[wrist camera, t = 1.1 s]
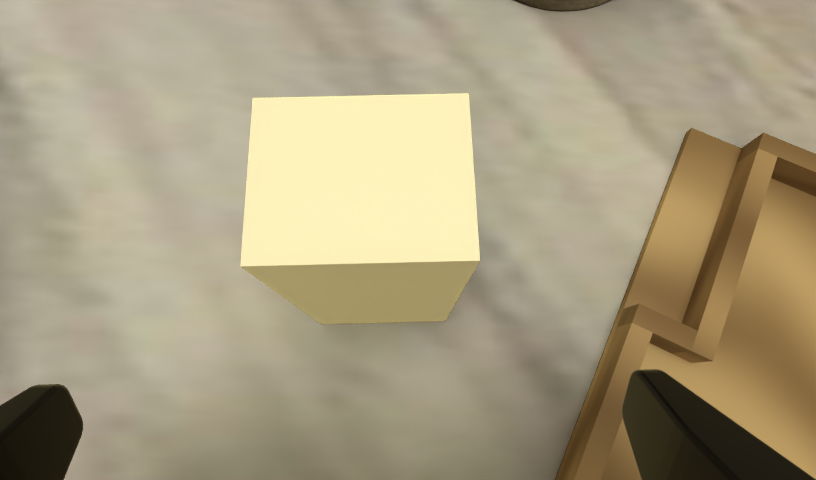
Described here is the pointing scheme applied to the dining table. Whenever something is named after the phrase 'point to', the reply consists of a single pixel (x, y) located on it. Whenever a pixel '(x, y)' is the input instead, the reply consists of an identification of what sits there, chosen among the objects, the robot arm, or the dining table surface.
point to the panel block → (362, 205)
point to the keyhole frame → (718, 304)
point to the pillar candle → (563, 4)
